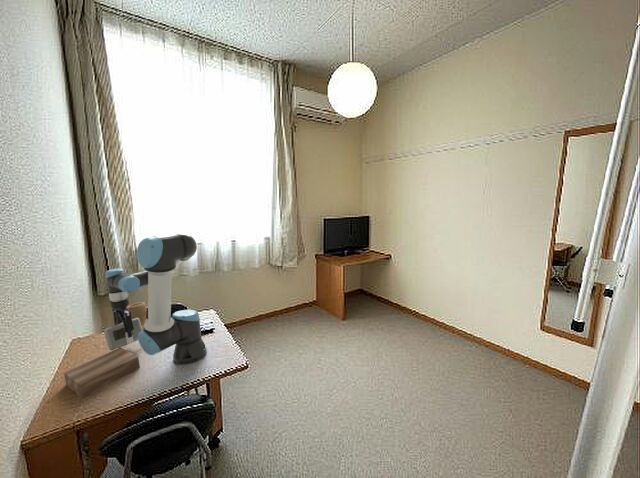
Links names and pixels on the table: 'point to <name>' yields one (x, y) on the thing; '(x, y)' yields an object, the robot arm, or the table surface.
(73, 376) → the walnut block
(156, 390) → the table surface
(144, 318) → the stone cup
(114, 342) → the digital clock
